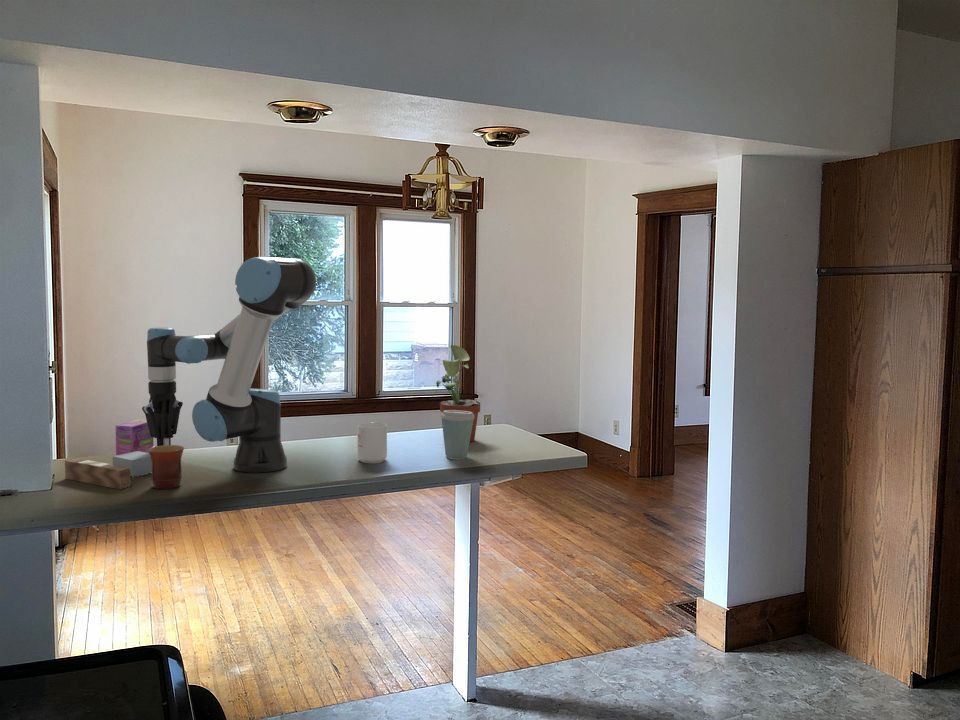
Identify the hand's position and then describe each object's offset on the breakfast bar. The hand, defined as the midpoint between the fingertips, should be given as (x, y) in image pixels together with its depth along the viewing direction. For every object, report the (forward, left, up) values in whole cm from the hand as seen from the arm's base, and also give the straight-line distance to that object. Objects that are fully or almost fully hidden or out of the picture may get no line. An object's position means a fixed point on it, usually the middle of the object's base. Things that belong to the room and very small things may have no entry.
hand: (164, 459), depth 229 cm
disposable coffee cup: (-70, -52, -2) cm, 87 cm away
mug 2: (-48, -36, -2) cm, 60 cm away
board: (-1, +23, -2) cm, 23 cm away
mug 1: (-19, +15, -2) cm, 25 cm away
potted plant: (-58, -75, -2) cm, 95 cm away
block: (0, +10, -2) cm, 10 cm away
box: (+11, +1, -2) cm, 11 cm away
